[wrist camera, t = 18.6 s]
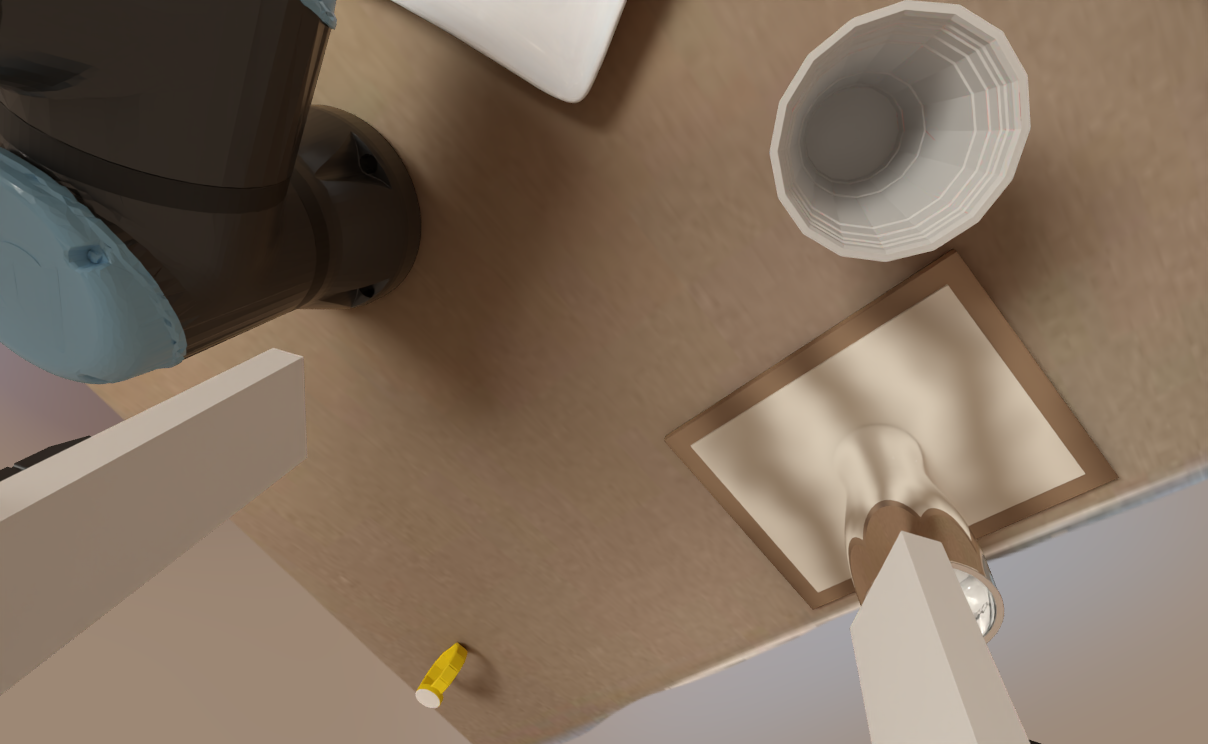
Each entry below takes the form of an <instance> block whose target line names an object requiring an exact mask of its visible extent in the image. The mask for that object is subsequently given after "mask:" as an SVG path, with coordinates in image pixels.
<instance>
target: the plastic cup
mask: <svg viewBox="0 0 1208 744" xmlns="http://www.w3.org/2000/svg"><path fill="white" fill-rule="evenodd" d="M1030 128H1031V126H1030V108H1029V90H1028V75H1027V73H1026V72H1025V70H1024V68H1023V66H1022V65H1021V63H1020V61H1019V59H1018V57H1017V56H1016V54H1015V52H1014V50H1013V49H1012V47H1011V45H1010V43H1009V42H1008V40H1007V38H1006V36H1005V34H1004V33H1003V31H1001V30H1000V29H998V28H996V27H995V26H993V25H992V24H990V23H988V22H987V21H985V20H984V19H982V18H980V17H979V16H977V15H976V14H974V13H972V12H971V11H969V10H968V9H966V8H964V7H963V6H961V5H959V4H947V3H935V2H923V1H911V0H905V1H902V2H899V3H896V4H893V5H890V6H887V7H884V8H881V9H878V10H875V11H872V12H869V13H866V14H863V15H860V16H858V17H855V18H852V19H851V20H850V21H848V22H847V23H846V24H845V25H843V26H842V27H841V28H840V29H839V30H837V31H836V32H835V33H834V34H833V35H831V36H830V37H829V38H828V39H826V40H825V41H824V42H823V43H822V44H820V45H819V46H818V47H817V48H815V49H814V50H813V51H812V52H811V53H809V54H808V55H807V57H806V59H805V60H804V62H803V64H802V65H801V67H800V69H799V70H798V72H797V74H796V75H795V77H794V78H793V80H792V82H791V83H790V85H789V87H788V88H787V90H786V92H785V93H784V95H783V97H782V98H781V100H780V102H779V106H778V111H777V116H776V121H775V126H774V131H773V136H772V142H771V147H770V152H769V153H770V158H771V163H772V168H773V174H774V179H775V184H776V189H777V195H778V199H779V200H780V201H781V203H782V204H783V206H784V207H785V209H786V210H787V212H788V213H789V214H790V216H791V217H792V219H793V220H794V222H795V223H796V224H797V226H798V227H799V229H800V230H801V232H802V233H803V234H804V235H806V236H807V237H809V238H811V239H812V240H814V241H816V242H817V243H819V244H821V245H823V246H824V247H826V248H828V249H829V250H831V251H833V252H834V253H836V254H838V255H839V256H843V257H851V258H859V259H867V260H874V261H882V262H888V261H892V260H896V259H901V258H905V257H909V256H913V255H917V254H921V253H925V252H930V251H934V250H935V249H937V248H939V247H940V246H942V245H943V244H945V243H946V242H948V241H949V240H951V239H953V238H954V237H956V236H957V235H959V234H960V233H962V232H964V231H965V230H967V229H968V228H970V227H971V226H973V225H974V224H976V223H978V222H979V221H980V219H981V218H982V217H983V216H984V214H985V213H986V212H987V211H988V209H989V208H990V207H991V206H992V204H993V203H994V202H995V201H996V200H997V198H998V197H999V196H1000V195H1001V193H1002V192H1003V191H1004V190H1005V188H1006V187H1007V186H1008V185H1009V183H1010V182H1011V181H1012V180H1013V177H1014V174H1015V171H1016V168H1017V166H1018V163H1019V160H1020V157H1021V154H1022V151H1023V148H1024V146H1025V143H1026V140H1027V137H1028V134H1029V131H1030Z"/></svg>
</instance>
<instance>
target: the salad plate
mask: <svg viewBox="0 0 1208 744" xmlns="http://www.w3.org/2000/svg"><path fill="white" fill-rule="evenodd" d="M391 1H393V2H395V3H397V4H398V5H400V6H402V7H404V8H405V9H407V10H409V11H411V12H413V13H414V14H416V15H418V16H420V17H421V18H423V19H425V20H427V21H429V22H431V23H432V24H434V25H436V26H438V27H439V28H441V29H443V30H444V31H446V32H448V33H449V34H451V35H453V36H455V37H456V38H458V39H460V40H461V41H463V42H465V43H466V44H468V45H469V46H471V47H473V48H474V49H476V50H477V51H479V52H481V53H482V54H484V55H485V56H487V57H489V58H491V59H492V60H494V61H495V62H497V63H498V64H500V65H502V66H503V67H505V68H506V69H508V70H510V71H511V72H513V73H514V74H516V75H518V76H519V77H521V78H522V79H524V80H525V81H527V82H529V83H530V84H532V85H533V86H535V87H536V88H538V89H540V90H542V91H544V92H545V93H547V94H549V95H551V96H553V97H555V98H557V99H559V100H562V101H565V102H569V103H577V102H580V101H581V100H583V99H584V98H585V97H586V95H587V94H588V93H589V91H590V89H591V87H592V85H593V83H594V81H595V79H596V77H597V74H598V72H599V70H600V67H601V65H602V63H603V60H604V58H605V56H606V53H607V50H608V48H609V45H610V43H611V40H612V38H613V35H614V32H615V30H616V27H617V25H618V22H619V20H620V17H621V14H622V12H623V9H624V7H625V4H626V2H627V0H391Z"/></svg>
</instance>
